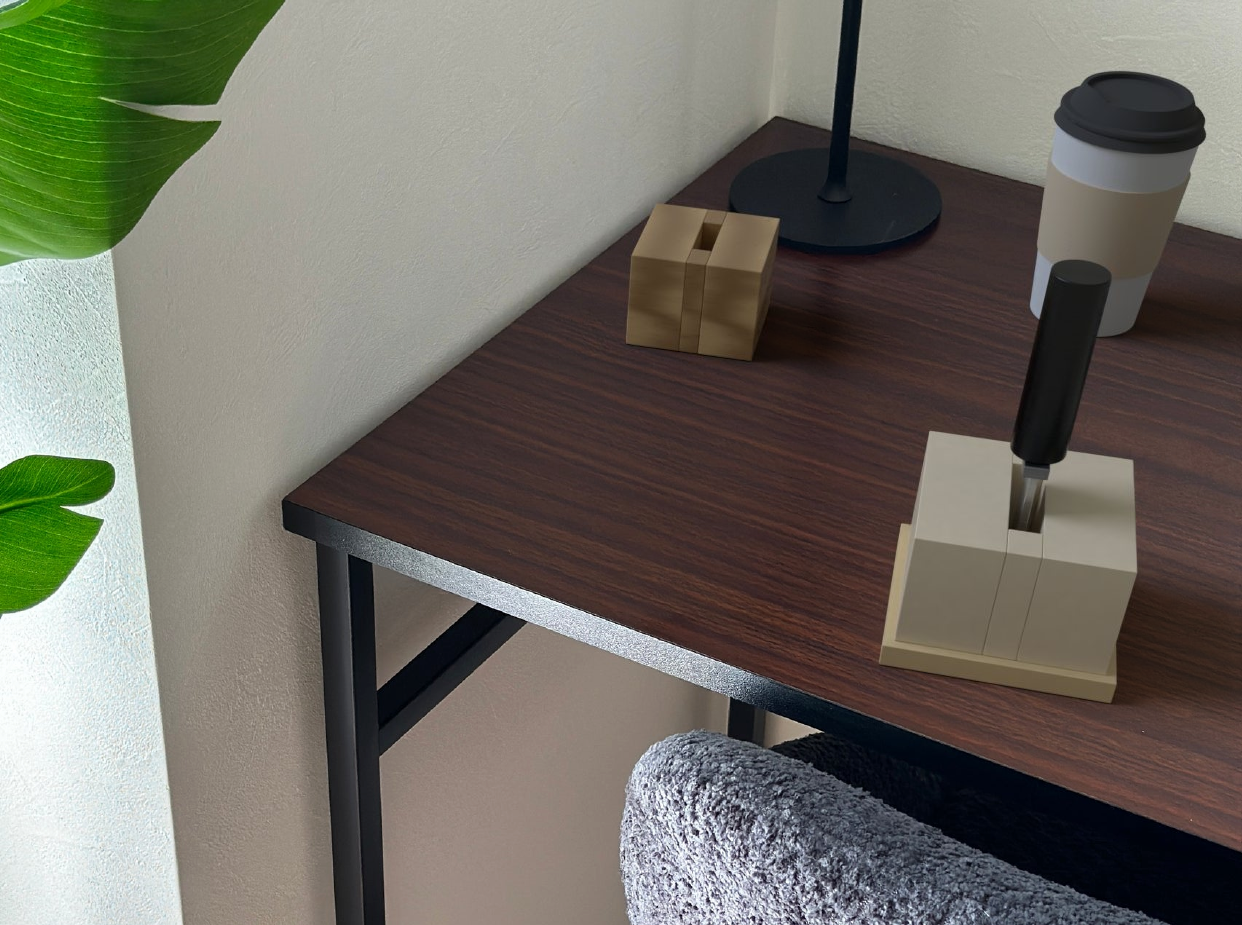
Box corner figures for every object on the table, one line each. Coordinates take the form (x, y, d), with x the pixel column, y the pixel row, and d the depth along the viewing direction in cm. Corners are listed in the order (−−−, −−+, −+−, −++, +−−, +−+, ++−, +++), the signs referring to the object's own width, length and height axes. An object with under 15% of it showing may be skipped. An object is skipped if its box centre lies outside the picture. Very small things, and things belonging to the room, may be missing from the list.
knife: (1028, 585, 87) (1112, 260, 76) (1026, 621, 84) (1113, 291, 73) (976, 577, 87) (1052, 252, 76) (973, 613, 85) (1050, 283, 74)
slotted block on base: (1109, 574, 90) (1143, 456, 85) (1111, 703, 82) (1149, 580, 77) (897, 541, 92) (920, 423, 87) (878, 664, 83) (902, 541, 79)
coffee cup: (1117, 277, 117) (1175, 55, 107) (1177, 340, 110) (1245, 108, 101) (991, 284, 116) (1039, 60, 106) (1044, 348, 109) (1100, 114, 99)
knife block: (769, 304, 113) (780, 218, 109) (751, 361, 107) (762, 271, 103) (650, 288, 114) (656, 202, 110) (625, 344, 108) (631, 254, 104)
